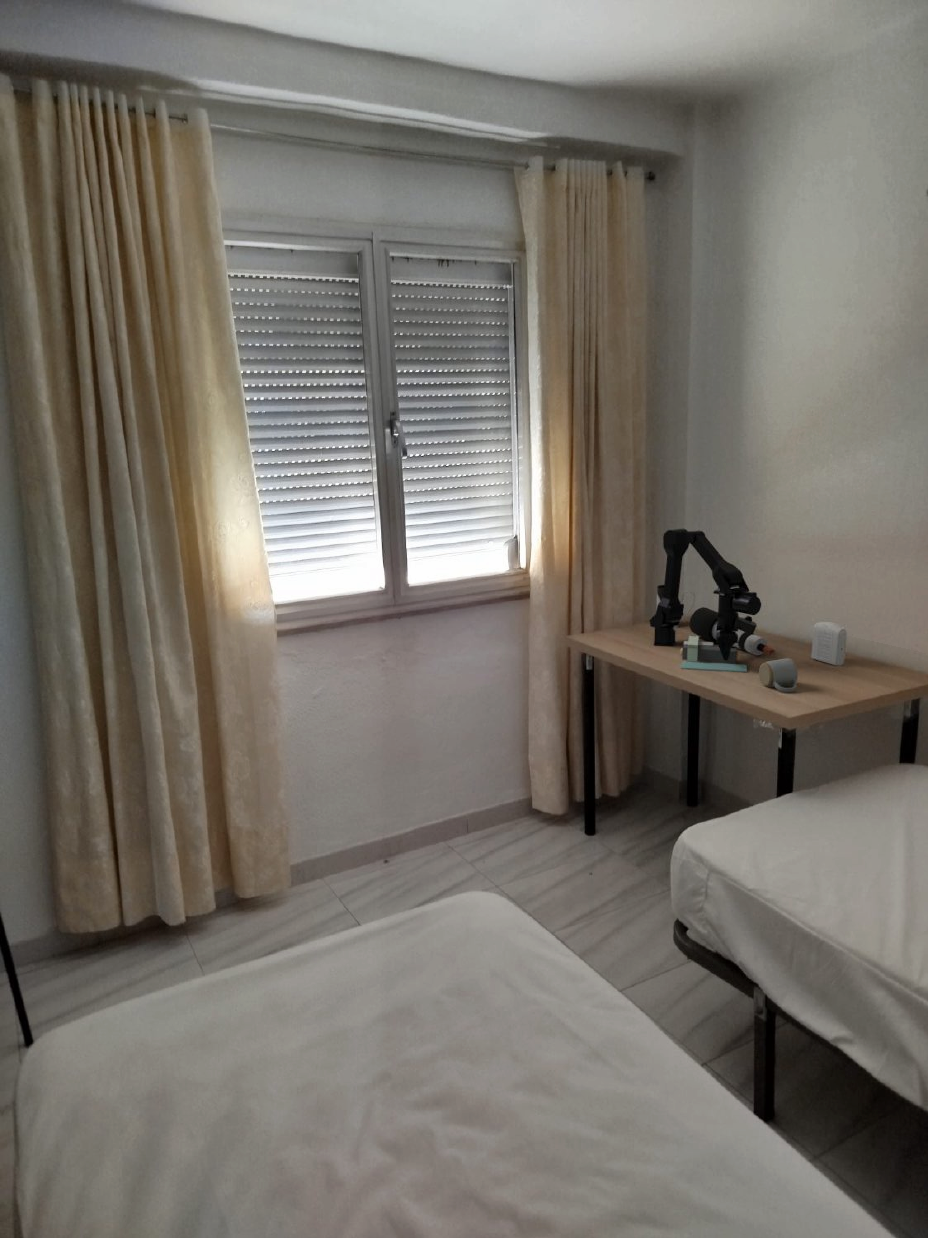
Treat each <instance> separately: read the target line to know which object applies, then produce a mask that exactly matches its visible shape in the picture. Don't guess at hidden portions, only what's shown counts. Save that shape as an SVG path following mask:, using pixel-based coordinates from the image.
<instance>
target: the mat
mask: <svg viewBox="0 0 928 1238" xmlns="http://www.w3.org/2000/svg"><path fill="white" fill-rule="evenodd" d="M747 668H748V667H747V664H740V663H739V664H737V663H735V664H726V663H715V662H703V661H697V662H687V661H682V662H681V666H680V669H681V670H695V671H696V670H697V671H698V670H699V671H715V672H730V673H732V672H733V673H748V669H747Z"/></svg>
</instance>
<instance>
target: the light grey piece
mask: <svg viewBox="0 0 928 1238" xmlns="http://www.w3.org/2000/svg"><path fill="white" fill-rule="evenodd" d="M699 637H700V636H698V635H688V640H687V641H688V651H687V660H686V662H698V661H697V653H698V642H700V640H699Z"/></svg>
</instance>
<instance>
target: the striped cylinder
mask: <svg viewBox="0 0 928 1238" xmlns="http://www.w3.org/2000/svg"><path fill="white" fill-rule="evenodd" d="M717 623H718V611H715V610H713V609H710V608H708V607H704V606H703V607H700V608H698V609H696V610H695V611H694V612H693V613H692V614H691V616H690V618H689V629H690V631H691V632H692V633H693V634H694V635H695V636H699V637H700V638H703V639H705V640H707V641H708V642H713V644H718V643H717V642H716V635H717V632H719V631H720V630H718V631H717ZM735 632H736V633H737V634H738V643H735V644H733V645H732V647H733V648H736V649H739V650H742V651H744V652H747V653H749V654H752V655H755V656H759V655H760V656H761V655H762V654H767V655H770V656H772V655H774V653H775V649H774V648H771V647H769V646H768V642H767V640H766V638H763V637H761V636H759V635H758V634H755V633H753V635H750V634H748V633H746V632H744V631H741V630H739V629H738V631H735Z"/></svg>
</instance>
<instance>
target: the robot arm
mask: <svg viewBox="0 0 928 1238" xmlns="http://www.w3.org/2000/svg"><path fill="white" fill-rule="evenodd" d="M662 536H663V537H662V539H663V541H662V542H663V545H662V546H663V549H664V552H665V554H666V563H665V564H666V565H665V573H664V574H665V576H664V584H663V585H664V593H663V598H662V599H661V601H660V602H659V604H658V606H657V605H656V607H657V610H656V609H655V610H656V611H655V613H654V615H653V616H652V617H651V618H650V619H649V625H650V627H652V628H654V638H653V639H654V640H653V641H654V642H653V645H654V646H664V647H665V646H668V647H671V646H672V647H674V645H675V644H676V631H677V630H676V629H675V628H674V626H678V625H679V624H680V621H681V620H682V618H683V617H684V616H683V615H684V609H685V608H684V607H685V604H684V603H681V602H680V601H681V600H680V599H679V593H680V584H681V576H682V566H683V565H682V564H683V557H684V555H685V553H686V552H687V551H688V550H689V546H690V545H691V546H692V547H693V548H694V550H695V551H696V552H697V554H698V555H699V556H700V557H701V559H702V560H703V561H704V563H705V564H707V566H708V567H709V568H710V570H711V575H712V576H711V577H712V579H713V581H714V582H715V584H716V586H717V588H716V589H715V590H713V592H712V593H713V594H715V595H718V602H717V603H718V606H717V607H718V608H717V612H718V623H717V631H718V630H720V631H719V632H717V635H716V642H717V643H716V644H717V645H718V646H717V647H719V648H720V651H721V654H722V656H723V659H724V660H725V661H727V660H728V657H729V654H730V650H731V648H732V647H733V646H732V645H733V644H735V643H738V634H737V633H736V632H735V631H738V629H739V630H741V631H744V632H746V633H748V634H750V635H753V634H755V631H756V628H757V626H758V625H757V623H756V622H755V621H753V617H752V616H756V615H757V614H758V613H760V610H761V608H762V602H761V599H760V598H759V597H758V594H757V592H755V591H750V589H749V586H748V584H747V583H746V581H745V578H744V577H743V576H744V575H743V573H742V571H741V570H740V568H738V567H737V566H736V565H734V563H733V564H732V563H730V562H728V561H726V560H725V558H724V557H723V556H722V555H721V554H720V552H719V551H718V550H717V548H716V547H714V545H713V544H712V543H711V542H710V540H709V539H708V538H707V537H706V534H705V532H704V531H702V530H694V531H691V530H690V531H688V530H687V529H686V528H676V529H667V530H666V531H665V532H664V533H663V535H662ZM739 613H740V614H745V615H746V616H745V617H740V616H739ZM750 615H751V616H750ZM682 616H683V617H682Z"/></svg>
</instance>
